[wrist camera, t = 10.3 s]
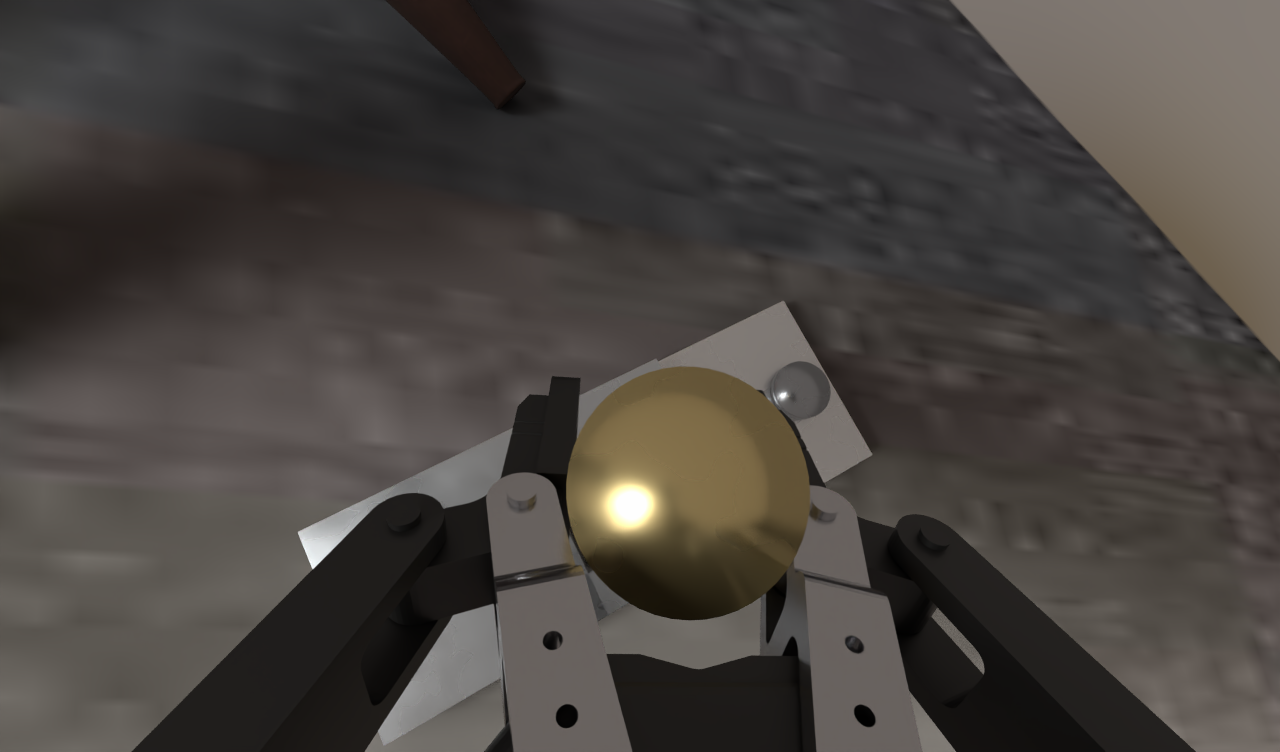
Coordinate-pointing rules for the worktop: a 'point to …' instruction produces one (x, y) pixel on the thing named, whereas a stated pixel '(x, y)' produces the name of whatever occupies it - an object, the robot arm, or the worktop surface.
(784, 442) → the pin
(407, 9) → the holster
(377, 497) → the grey metal plate
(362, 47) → the worktop surface
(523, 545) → the robot arm
